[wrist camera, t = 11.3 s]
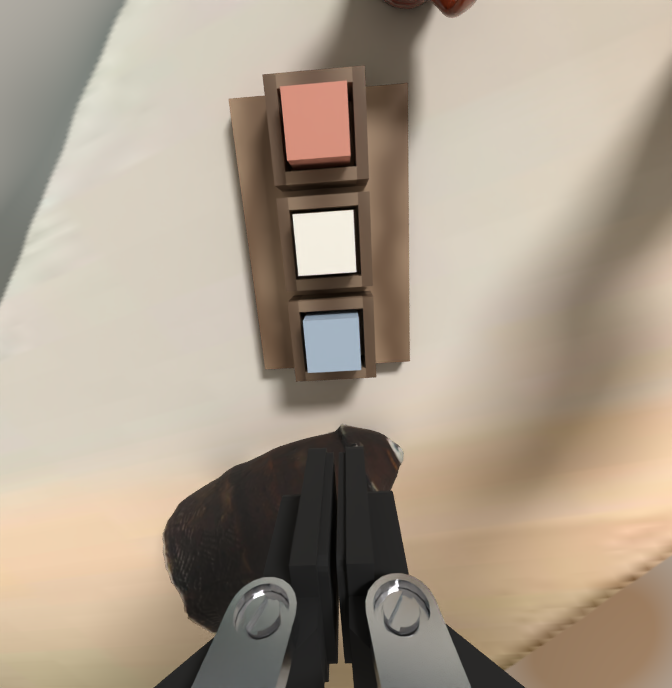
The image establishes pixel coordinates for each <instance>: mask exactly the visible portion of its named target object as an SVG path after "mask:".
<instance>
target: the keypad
mask: <svg viewBox="0 0 672 688" xmlns="http://www.w3.org/2000/svg"><path fill="white" fill-rule="evenodd" d="M335 81H347V94H348V114H349V134H350V154H351V156H350V166H341V167H328V168H316V169H303V170H294V169H293V168H292V166H291V165H290V164H289V162H288V161H287V153H286V143H285V132H284V122H283V112H282V102H281V91H280V86H291V85H302V84H313V83H324V82H335ZM263 83H264V92H265V96H255V97H244V98H233V99H229V106H230V113H231V121H232V128H233V136H234V143H235V150H236V158H237V165H238V172H239V180H240V187H241V195H242V202H243V209H244V217H245V224H246V231H247V239H248V246H249V254H250V261H251V268H252V276H253V283H254V290H255V298H256V305H257V313H258V320H259V327H260V335H261V342H262V349H263V357H264V364H265V369H281V368H295V376H296V382H298V381H316V380H335V379H353V378H371V377H376V363H388V362H406V361H410V341H409V188H408V83H402V84H391V85H380V86H368V87H366V82H365V65H363V66H352V67H341V68H330V69H319V70H308V71H297V72H286V73H275V74H264V75H263ZM346 210H353V215H354V235H355V255H356V272H350V273H335V274H320V275H305V276H298V266H297V255H296V245H295V235H294V225H293V214H305V213H319V212H332V211H346ZM349 309H357V312H358V317H359V335H360V355H361V370H353V371H334V372H316V373H308V368H307V358H306V348H305V337H304V327H303V320H304V318H305V316H306V314H307V312H317V311H333V310H349Z"/></svg>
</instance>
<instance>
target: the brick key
mask: <svg viewBox="0 0 672 688" xmlns="http://www.w3.org/2000/svg"><path fill="white" fill-rule="evenodd" d="M280 91H281V102H282V112H283V122H284V132H285V143H286V153H287V161H288V162H289V164H290V165H291V166H292V168H293V169H294V170H303V169H316V168H328V167H341V166H350V156H351V154H350V134H349V114H348V94H347V81H335V82H324V83H313V84H302V85H291V86H280Z"/></svg>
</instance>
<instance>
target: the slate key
mask: <svg viewBox="0 0 672 688" xmlns="http://www.w3.org/2000/svg"><path fill="white" fill-rule="evenodd" d="M303 327H304V337H305V348H306V358H307V368H308V373H316V372H334V371H353V370H361V355H360V335H359V317H358V312H357V309H349V310H333V311H317V312H307V314H306V316H305V318H304V320H303Z"/></svg>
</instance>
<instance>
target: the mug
mask: <svg viewBox="0 0 672 688" xmlns="http://www.w3.org/2000/svg"><path fill="white" fill-rule="evenodd" d="M384 1H385V2H386V3H388V4H390V5H392V6H394V7H397V8H403V9H411V8H414V7H417V6H419V5H421V4H423V3H425V2H426V1H427V0H384ZM430 1H431V2H432V3H433V4H434V5H435V6H436V7H437V8H438V9H439V10H440V11H441V12H442V13H443V14H444V15H445V16H446V17H449V18H454V17H457V16H459V15H461V14H463V13H464V12H466V11H467V10H468V9H469V8H471V7H472V5H473V4H474V3H475V2H476V0H430Z"/></svg>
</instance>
